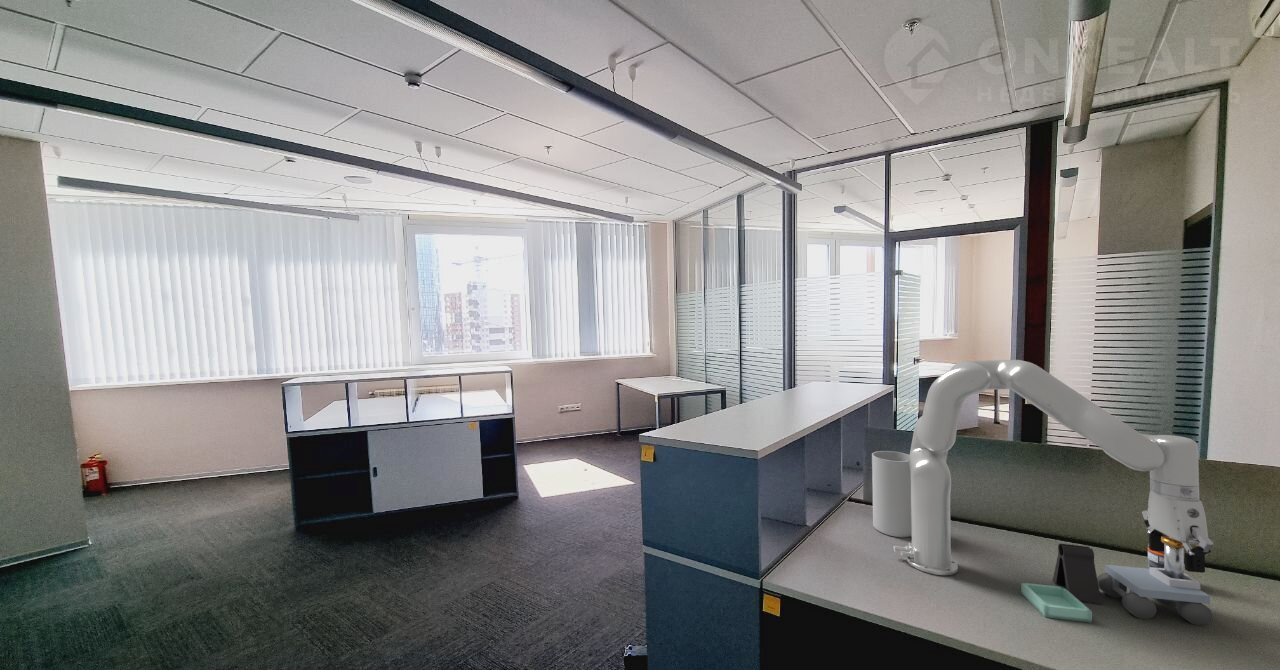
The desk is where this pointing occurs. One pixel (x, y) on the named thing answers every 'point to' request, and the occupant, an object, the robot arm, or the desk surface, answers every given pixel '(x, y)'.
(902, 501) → the cylinder vase
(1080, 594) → the phone stand
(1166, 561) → the pin
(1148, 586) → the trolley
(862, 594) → the desk surface
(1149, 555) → the supplement bottle
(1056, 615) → the tray
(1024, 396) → the robot arm
